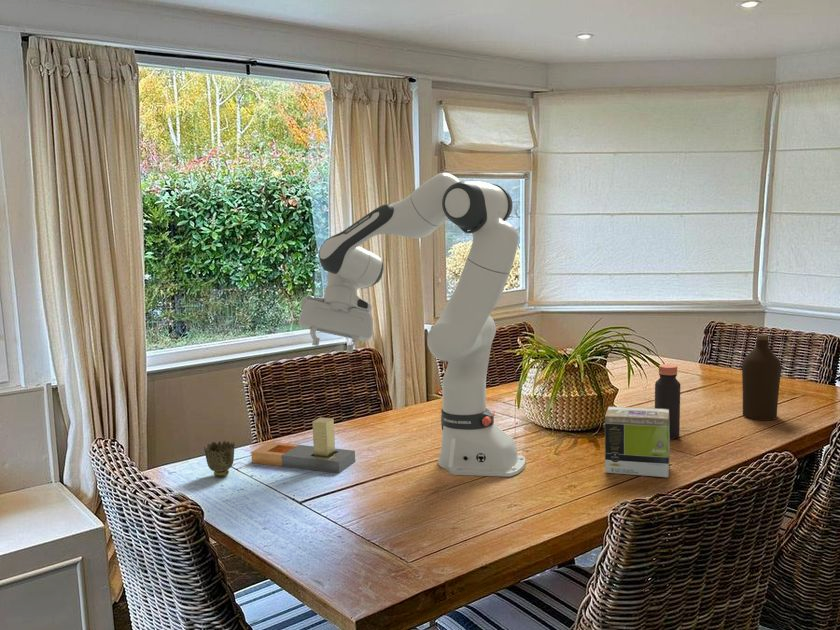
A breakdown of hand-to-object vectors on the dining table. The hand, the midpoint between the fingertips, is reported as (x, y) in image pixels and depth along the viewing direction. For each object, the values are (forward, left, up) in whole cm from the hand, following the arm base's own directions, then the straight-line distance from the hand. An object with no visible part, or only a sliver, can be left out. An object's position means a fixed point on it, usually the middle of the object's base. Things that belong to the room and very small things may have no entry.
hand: (332, 348), depth 203 cm
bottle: (-83, -40, -29) cm, 97 cm away
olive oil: (-108, -67, -29) cm, 131 cm away
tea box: (-78, -10, -29) cm, 84 cm away
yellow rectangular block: (-2, +10, -29) cm, 31 cm away
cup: (+20, +25, -29) cm, 43 cm away
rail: (+5, +10, -29) cm, 31 cm away
